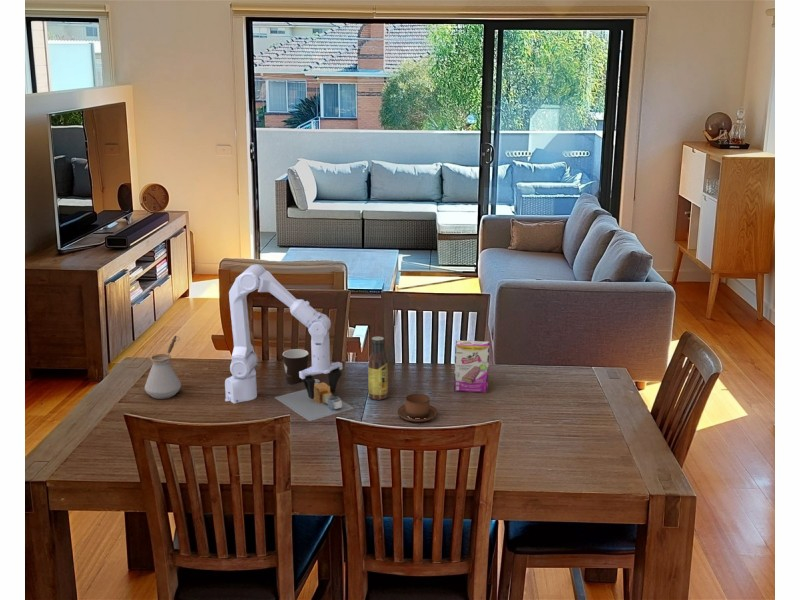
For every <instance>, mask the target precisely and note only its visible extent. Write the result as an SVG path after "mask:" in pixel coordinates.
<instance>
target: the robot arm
mask: <svg viewBox="0 0 800 600" xmlns="http://www.w3.org/2000/svg"><path fill="white" fill-rule="evenodd" d="M256 290H257V293H270V295H272V296H274V297H275V298H276V299H277V300H279V301H280V302H281V303H283V304H284V305H285V306H287V307H288V308H289V311H290V314H291V316H292V317H294V319H296V320H298V321H299V322H300V323H301V324H302V325H304V327H306V328H307V331H308V333H309V335H310V336H311V337H310V339H311V340H310V349H311V351H310V353H311V366H310V367H307V369H305V370H303V371H299V377H300V378H301V379H302V381H303V382H302V383H303V384H304V387H305V389H307V392H308V396H309V398H311V399H314V384H315V380H314V379H315V378H314V377H313V376H317V375H321V374H325V375H326V374H327V377H328V385H329V386H330V392H331V393H332V394H335V392H336V389H337V384H338V382H339V380H340V377H341V376H342V374H343V373H342V371H341V370H343V368H344V367H343V363H342V362H340V361H336V362H335V361H334V362H331V348H330V347H331V346H330V345H331V343H330V331H329V330H330V329H331V326H332V322H331V319H330V318H329V317H328V315H327V314H324V313H322V312H320V311H317V310H316V309H315V308H313V306H311V305H310V301H308V300H306V301H305V299H302V298H300V299H298V298H296V297H295V296H294V295H293V294H292V293H291V292H289V290H287V289H286V288H285V286H283V285H282V284H281V283H280V282H279V281H278V280H277V279H276V278H275V277H274V276H273V274H272V273H271V272H270V271H268V270H266V269H265V267H263V266H262V265H261V264H251V265H250V266H249V267H248V268H246V269H244V270H243V272H241V273H240V274H239V275H238V276H237V277H235V280H234V282H233V284H232V286H231V288H230V289H229V291H228V297H229V309H230V318H231V331H232V339H233V350H232V354H231V362H230V365H229V371H230V373H231V376H229V377H227V378H226V379H225V380H224V392H225V398H224V401H225V402H230V403H233V404H238V403H242V402H248V401H252V400H255V399H256V398H258V397H257V396H258V391H257V389H258V388H257V371H256V369H255V367H256V366H257V363H258V356H257V355H256V353H255V351H254V349H255V348H254V346H253V344H252V343H251V334H250V321H249V310H248V301H247V296H248V295H249V293H252V292H254V291H256Z"/></svg>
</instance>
